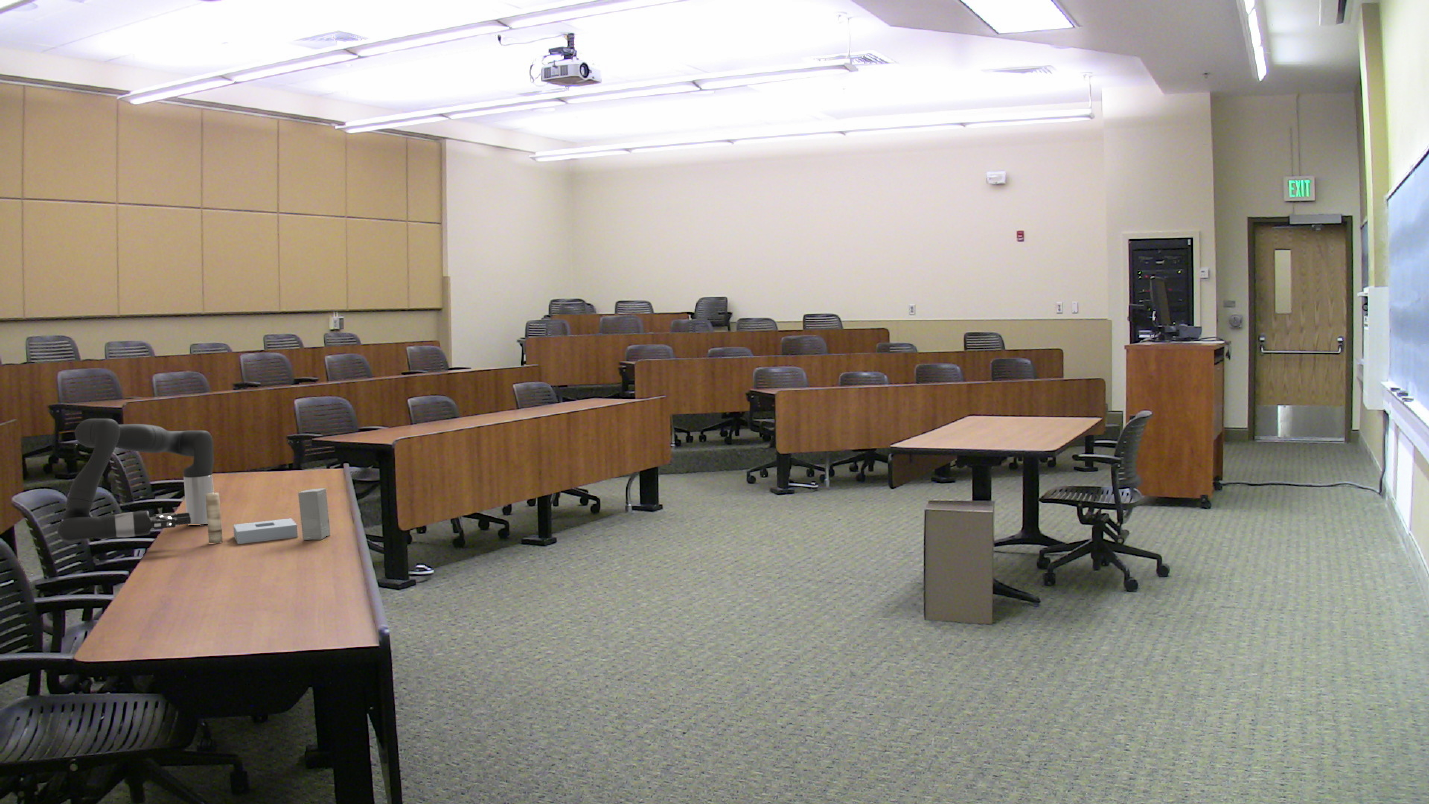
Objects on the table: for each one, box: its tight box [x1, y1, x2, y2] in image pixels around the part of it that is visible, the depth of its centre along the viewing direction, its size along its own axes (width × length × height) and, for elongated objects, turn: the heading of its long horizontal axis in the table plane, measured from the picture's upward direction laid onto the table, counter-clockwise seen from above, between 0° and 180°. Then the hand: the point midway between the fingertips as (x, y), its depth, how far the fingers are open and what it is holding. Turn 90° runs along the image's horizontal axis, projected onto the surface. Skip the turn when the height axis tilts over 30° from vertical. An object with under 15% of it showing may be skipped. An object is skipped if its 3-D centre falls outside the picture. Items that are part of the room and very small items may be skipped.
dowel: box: [205, 492, 223, 544], centre depth 347 cm, size 4×4×16 cm
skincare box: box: [297, 487, 331, 541], centre depth 350 cm, size 8×7×16 cm
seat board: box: [232, 517, 299, 545], centre depth 355 cm, size 14×18×4 cm
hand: (190, 517), depth 344 cm, fingers open, 8 cm apart
